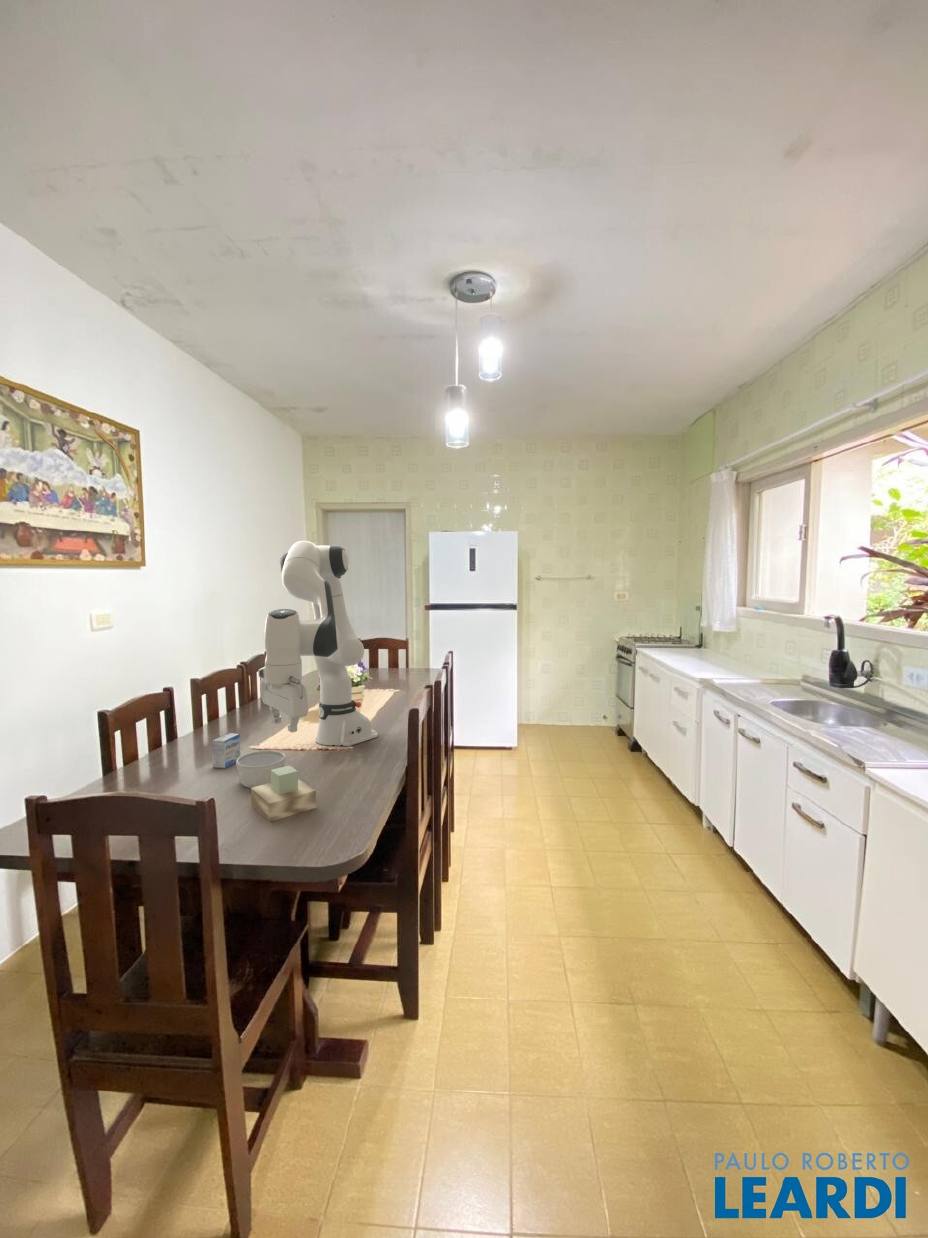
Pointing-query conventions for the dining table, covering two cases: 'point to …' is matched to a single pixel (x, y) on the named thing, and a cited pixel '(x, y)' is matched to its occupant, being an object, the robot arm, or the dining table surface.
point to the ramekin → (258, 767)
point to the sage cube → (284, 780)
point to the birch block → (282, 801)
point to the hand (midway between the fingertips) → (284, 727)
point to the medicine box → (225, 750)
